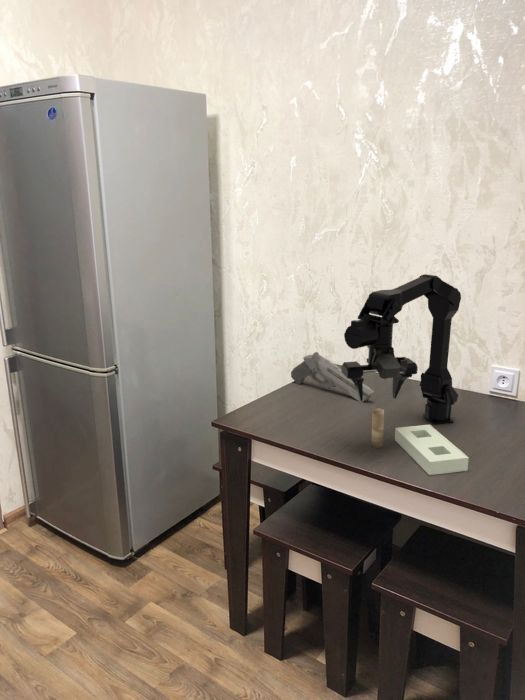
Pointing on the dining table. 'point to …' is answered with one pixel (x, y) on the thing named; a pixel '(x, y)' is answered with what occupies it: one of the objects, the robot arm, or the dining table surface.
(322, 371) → the handgun
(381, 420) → the dowel
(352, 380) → the robot arm
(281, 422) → the dining table surface
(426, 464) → the socket block
